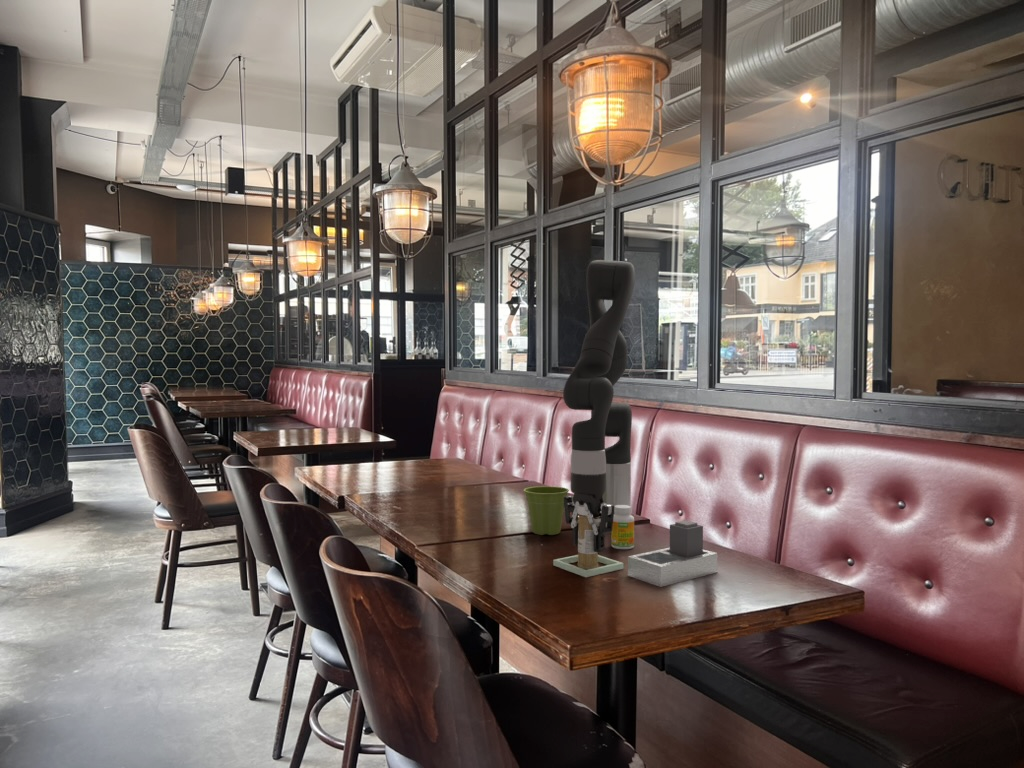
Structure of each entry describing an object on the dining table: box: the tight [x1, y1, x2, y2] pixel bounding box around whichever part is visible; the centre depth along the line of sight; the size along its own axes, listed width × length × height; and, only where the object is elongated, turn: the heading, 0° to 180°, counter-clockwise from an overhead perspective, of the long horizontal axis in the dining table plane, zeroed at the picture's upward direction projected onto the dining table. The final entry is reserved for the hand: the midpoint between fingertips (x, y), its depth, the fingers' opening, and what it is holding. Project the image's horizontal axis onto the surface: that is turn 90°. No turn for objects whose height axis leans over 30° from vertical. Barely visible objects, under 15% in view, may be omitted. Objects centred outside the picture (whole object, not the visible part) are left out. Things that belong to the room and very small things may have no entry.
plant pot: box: [523, 485, 570, 536], centre depth 181 cm, size 12×12×11 cm
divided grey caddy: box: [627, 546, 718, 588], centre depth 144 cm, size 9×17×4 cm, turn 125°
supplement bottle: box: [610, 505, 635, 550], centre depth 166 cm, size 5×5×10 cm
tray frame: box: [552, 554, 624, 578], centre depth 150 cm, size 11×11×1 cm
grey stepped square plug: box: [669, 519, 704, 558], centre depth 147 cm, size 5×5×10 cm
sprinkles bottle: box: [577, 505, 599, 570], centre depth 149 cm, size 5×5×14 cm
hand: (588, 548), depth 150 cm, fingers open, 6 cm apart
